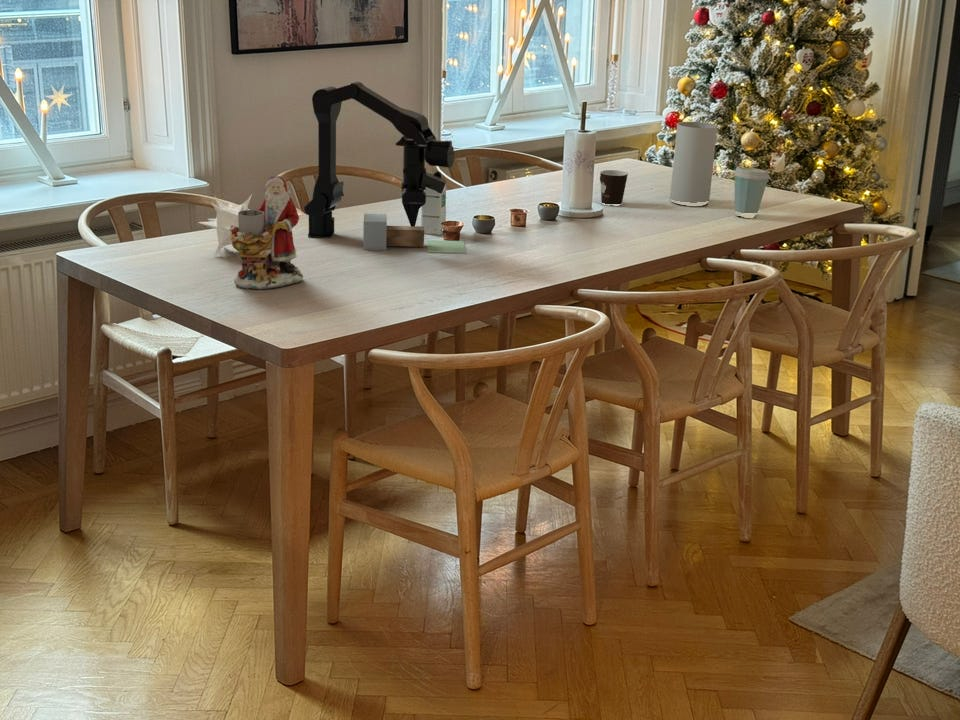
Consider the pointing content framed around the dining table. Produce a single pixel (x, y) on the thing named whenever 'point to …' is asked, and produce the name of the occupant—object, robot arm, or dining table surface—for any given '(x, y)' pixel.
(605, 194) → the coffee mug
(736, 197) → the disposable coffee cup
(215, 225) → the star ornament
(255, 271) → the santa figurine
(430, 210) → the syrup box
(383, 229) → the upright grey block
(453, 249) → the green mat
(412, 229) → the walnut block
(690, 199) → the cylinder vase
